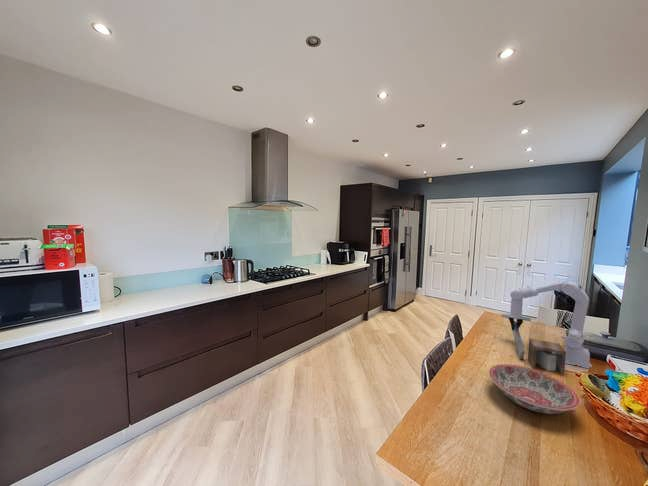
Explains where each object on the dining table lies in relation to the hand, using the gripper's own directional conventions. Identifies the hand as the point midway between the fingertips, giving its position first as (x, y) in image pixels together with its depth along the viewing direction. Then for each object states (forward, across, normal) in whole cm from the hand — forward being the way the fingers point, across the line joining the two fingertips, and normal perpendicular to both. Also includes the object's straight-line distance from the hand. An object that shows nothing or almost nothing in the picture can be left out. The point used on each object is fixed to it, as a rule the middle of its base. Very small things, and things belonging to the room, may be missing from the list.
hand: (514, 330), depth 157 cm
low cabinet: (+8, -9, +24) cm, 27 cm away
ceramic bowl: (+9, +4, +61) cm, 62 cm away
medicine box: (+9, -9, +24) cm, 28 cm away
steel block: (+5, 0, +9) cm, 10 cm away
